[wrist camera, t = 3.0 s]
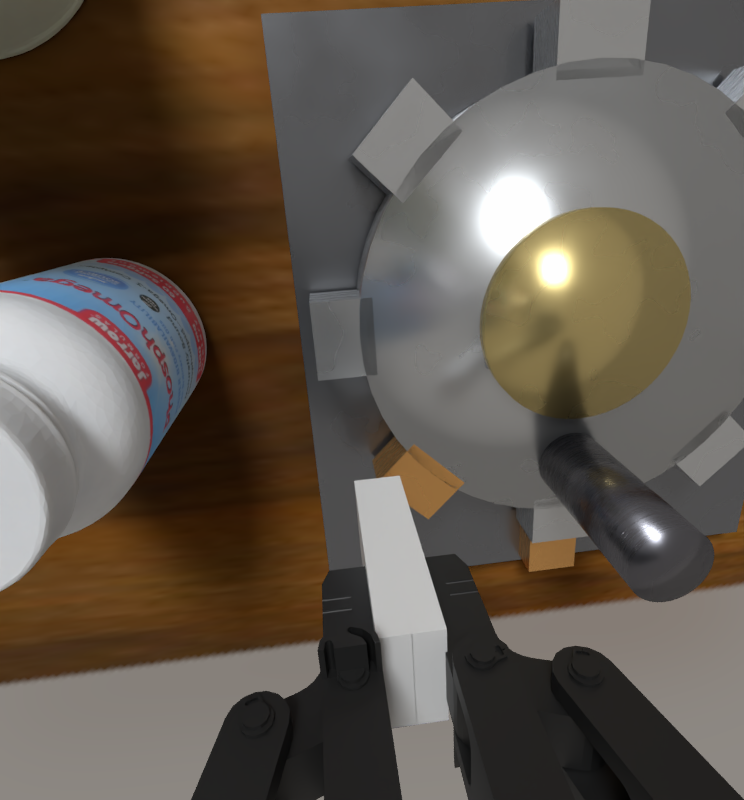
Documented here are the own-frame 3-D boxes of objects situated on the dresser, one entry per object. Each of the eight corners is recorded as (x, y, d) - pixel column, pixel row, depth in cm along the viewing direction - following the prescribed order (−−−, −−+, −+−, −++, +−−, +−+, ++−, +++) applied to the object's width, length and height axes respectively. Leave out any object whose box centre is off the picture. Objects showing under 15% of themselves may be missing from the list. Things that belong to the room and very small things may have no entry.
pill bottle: (243, 351, 20) (167, 519, 10) (126, 443, 21) (-59, 690, 10) (122, 217, 18) (-144, 246, 7) (-2, 326, 19) (-395, 488, 8)
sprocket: (337, 539, 22) (349, 707, 15) (279, 30, 15) (250, -119, 8) (741, 489, 23) (935, 622, 16) (848, 0, 17) (1260, -150, 9)
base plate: (330, 568, 24) (332, 603, 22) (263, 24, 16) (257, -1, 14) (720, 519, 25) (756, 547, 23) (830, -5, 18) (897, -32, 16)
